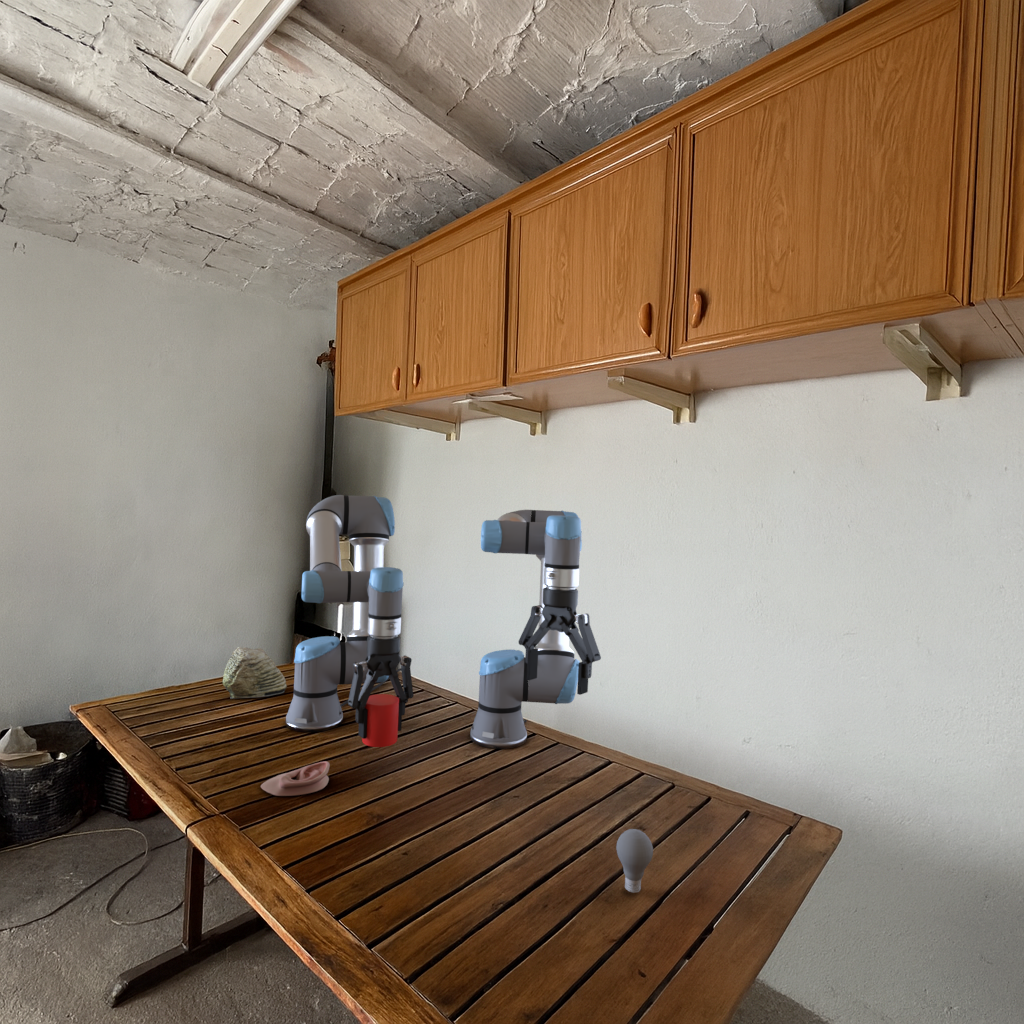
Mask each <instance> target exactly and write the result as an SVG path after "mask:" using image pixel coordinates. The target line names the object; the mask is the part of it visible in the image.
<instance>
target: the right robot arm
mask: <svg viewBox="0 0 1024 1024" xmlns="http://www.w3.org/2000/svg"><path fill="white" fill-rule="evenodd" d="M582 534H583V533H582V519H581V518H580V517H579V515H578V514H577V513H576V512H574V511H567V510H566V511H565V510H543V509H542V510H541V509H519V510H515V511H510V512H506V513H504V514H502V515H501V516H499V517H498V518H497V519H491V520H490V519H486V520H483V522H482V524H481V531H480V548H481V551H483V552H485V553H491V554H512V555H514V554H517V555H535V556H536V558H537V560H539V561H540V578H539V603H538V605H533V606H531V608H530V616H529V618H528V620H527V622H526V624H525V626H524V628H523V630H522V633H521V635H520V637H519V639H518V645H520V646H522V647H524V649H525V654H524V652H523V650H520V649H501V650H494V651H491V652H488V653H486V654H485V655H483V656H482V657H481V659H480V667H479V671H478V675H479V684H478V685H479V686H478V687H479V688H478V690H479V691H478V707H477V711H476V714H475V716H474V719H473V723H472V726H470V727H471V728H470V735H469V738H470V740H471V742H473V743H474V744H476V745H477V746H481V747H484V748H487V749H488V748H489V749H495V750H496V749H497V750H500V749H501V750H503V749H512V748H513V749H514V748H517V747H520V746H522V745H524V744H526V742H527V740H528V732H527V731H528V730H527V728H526V726H525V724H526V723H527V719H526V718H525V719H524V715H523V713H522V703H538V704H539V703H540V704H554V705H558V704H560V705H561V704H562V705H563V704H565V705H566V704H567V705H569V704H571V703H572V702H573V701H574V700H575V697H576V694H577V695H580V696H581V695H584V694H587V693H588V692H589V679H590V678H591V677H592V671H593V663H595V662H598V661H600V660H601V659H602V656H601V654H600V650H599V647H598V645H597V641H596V638H595V636H594V633H593V630H592V627H591V622H590V614H589V613H581V614H579V613H577V607H578V605H579V604H578V603H579V590H578V589H577V588H578V587H579V586H580V555H581V551H582V549H583V548H582V547H583V542H582V541H583V539H582V538H583V537H582ZM570 643H571V644H572V646H573V648H574V650H575V651H576V653H577V655H578V657H579V658H580V660H581V661H580V660H579V659H577V658H575V652H574V650H573V649H572V648H571V647H570ZM524 720H525V721H524Z"/></svg>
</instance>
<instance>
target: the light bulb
mask: <svg viewBox="0 0 1024 1024" xmlns="http://www.w3.org/2000/svg"><path fill="white" fill-rule="evenodd" d="M615 849H616V854H617V857H618V859H619V861H620V863H621V865H622V867H623V873H624V874H623V875H624V876H625V878H624V888H625V890H627V891H628V892H630V893H634V894H635V893H639V892H640V891H641V889H642V887H641V886H642V879H643V877H644V875H645V871H646V868H647V867H648V866H649V864H650V863H651V861H652V859H653V855H654V847H653V843H652V841H651V838H649V836H648V835H647V834H646V833H645V832H643V831H642V830H641V829H636V828H629V829H627V830H625V831H623V832H622V833H621V834H620V835H619V837H618V839H617V841H616V847H615Z"/></svg>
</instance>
